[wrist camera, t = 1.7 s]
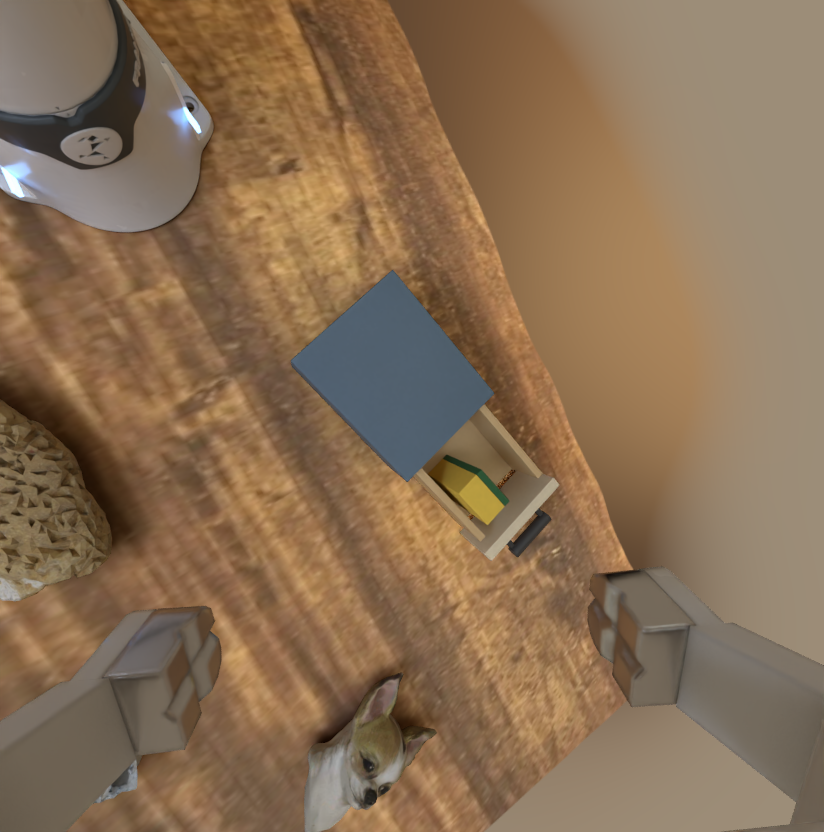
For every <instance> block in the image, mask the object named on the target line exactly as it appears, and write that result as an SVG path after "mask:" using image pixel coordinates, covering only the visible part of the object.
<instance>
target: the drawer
mask: <svg viewBox="0 0 824 832" xmlns="http://www.w3.org/2000/svg"><path fill="white" fill-rule="evenodd" d="M446 455H449V456H451V457H454V458H456V459H458V460H461V461H463V462H465V463H468V464H470V465H472V466H475V467H477V468H479V469H482V470H483V472H484V473H485V474H486V475H487V476H488V477H489V478H490V479H491V481H492V482H493V483H494V484H495V485H497V484H498V483H499V482H500V481H501V480H502V479H503V478H504V477H505V476H506V474H507V473H508V472H509V471H510V470H511V469H513V470H516V472H515V473H514V474H513V475H512V476H511V477H510V478H509V479H508V481H507V482H506V483H505V484H504V485H503V486H502V487H501V488H500V489H499V490H500V491H501V492H502V493H503V494H504V495H505V496H506V497H507V499H508V500H509V502H508V504H507V505H506V506H505V507H504V508H503V509H502V510H501V511H500V512H499V513H498V514H497V516H496V517H495V518H494V519H493V520H492V521H491V522H490V523H489V524H488V525H486V524H485V523H484V522H482V521H481V520H479V519H478V518H477V517H475V516H474V517H473V518H472V519H471V520H470V519H469V518H468V517H467V516H468V515H469V514H470V513H469V512H468V511H467V510H465V509H464V508H462V507H461V506H460V505H458V504H457V503H455V502H454V501H453V500H451V499H450V497H449V496H448V495H447V494H446V493H445V492H444V491H443V490H442V489H441V488H440V487H439V486H438V485H437V484H436V483H435V482H434V480H433V479H432V478H431V477H430V476H429V475H428V473H429V472H430V471H431V470H432V469H433V468H434V467H435V466H436V465H437V464H438V463H439V462H440V461H441V460H442V459H443V458H444V457H445V456H446ZM413 477H414V478H415V479H416V480H417V481H418V482H419V483H420V484H421V485H422V486H423V487H424V488H425V489H426V490H427V491H428V492H429V493H430V495H431V496H432V497H433V498H434V499H435V500H436V501H437V502H438V503H439V504H440V505H441V506H442V507H443V508H444V509H445V510H446V511H447V512H448V513H449V514H450V515H451V517H452V518H453V519H454V520H455V521H456V522H457V523H458V524H460V525H461V526H462V527H463V529H462V530H461V531H460V533H461V534H462V535H463V536H464V538H465V539H467V540H468V541H469V542H470V543H471V544H472V545H473V546H475V547H476V548H477V549H478V550H479V551H480V552H481V553H483V554H484V555H485V556H486V557H487V558H488V559H489V560H491V561H492V560H493V559H494V558H495V556H496V555H497V554H498V553H499V552H500V551H501V550H502V549H503V547H504V546H505V545H506V544H507V545H508V546H509V550H510V551H511V552H512V553H513V554H514V555H515V556H516V557H519V556H520V555H521V553H522V552H523V551H524V550H525V549H526V548H527V547H528V545H529V544H530V543H531V542H532V541H533V540H534V539H535V538H536V536H537V535H538V534H539V533H540V532H541V531H542V530H543V529H544V527H545V526H546V525H547V524H548V523H549V522H550V521H551V518H550V516H549V515H547V514H546V513H545V512H543V511H541V510H540V509H539V507H540V506H541V505H542V504H543V503H544V502H545V501H546V500H547V498H548V497H549V496H550V495H551V494H552V493H553V492H554V491H555V490H556V488H557V487H558V486H559V484H558V482H557V481H556V480H555V479H554V478H553V477H550V476H547V475H544V474H543V473H542V472H541V471H540V470H539V469H538V467H537V466H536V465H535V464H534V463H533V461H532V460H531V459H530V458H529V457H528V455H527V454H526V453H525V452H524V451H523V449H522V448H521V447H520V446H519V445H518V444H517V442H516V441H515V440H514V439H513V438H512V436H511V435H510V434H509V433H508V432H507V430H506V429H505V428H504V427H503V426H502V424H501V423H500V422H499V421H498V420H497V418H496V417H495V416H494V415H493V414H492V413H491V411H490V410H489V409H488V408H487V407H486V405H485V404H484V405H483V406H482V407H481V408H480V409H479V410H478V411H477V412H476V413H475V414H474V415H473V416H472V417H471V418H470V419H469V420H468V421H467V422H466V423H465V424H464V425H463V426H462V427H461V428H460V429H459V430H458V431H457V432H456V433H455V434H454V435H453V436H452V437H451V438H450V439H449V440H448V441H447V442H446V443H445V444H444V445H443V446H442V447H441V448H440V449H439V450H438V451H437V452H436V453H435V455H434V456H433V457H432V458H431V459H430V460H429V461H428V462H427V463H426V464H425V465H424V466H423V467H422V468H421V469H420V470H419V471H418V472H417V473H416V474H415V475H414V476H413ZM534 513H536V514H537V515H538V516H537V517H536V518H535V519H534V520H533V521H532V523H531V524H530V525H529V526H528V527H527V528H526V529H525V530H524V532H523V533H522V534H521V535H520V536H519V537H518V538H517V539H516V540H515V542H514V543H513V542H512V541H511V539H512V537H513V536H514V535H515V534H516V533H517V532H518V531H519V530H520V529H521V527H522V526H523V525H524V524H525V523H526V522H527V521H528V520H529V519H530V517H531V516H532V515H533V514H534Z"/></svg>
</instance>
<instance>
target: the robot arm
mask: <svg viewBox="0 0 824 832" xmlns="http://www.w3.org/2000/svg"><path fill="white" fill-rule="evenodd" d="M188 107H191V108H194V110H193V111H192V112H189V111H188ZM213 130H214V123H213V120H212V118H211V116H210V114H209V112H208V111H207V109H206V108H205V107H204V106H203V104H202V103H201V102H200V100H199V99H198V98H197V96H196V95H195V94H194V93H193V91H192V90H191V89H190V87H189V86H188V85H187V83H186V82H185V81H184V80H183V78H182V77H181V76H180V74H179V73H178V72H177V70H176V69H175V68H174V66H173V65H172V64H171V63H170V61H169V60H168V59H167V57H166V56H165V55H164V53H163V52H162V51H161V50H160V48H159V47H158V46H157V44H156V43H155V42H154V40H153V39H152V38H151V37H150V35H149V34H148V33H147V31H146V30H145V29H144V27H143V26H142V25H141V24H140V22H139V21H138V20H137V18H136V17H135V16H134V14H133V13H132V12H131V11H130V9H129V8H128V7H127V5H126V4H125V3H124V1H123V0H0V188H1V189H2V190H3V191H5V192H6V193H7V194H8V195H9V196H11V197H13V198H16V199H18V200H22V201H26V202H31V203H36V204H42V205H47V206H50V207H52V208H54V209H56V210H58V211H60V212H62V213H64V214H65V215H67V216H69V217H71V218H73V219H75V220H77V221H79V222H81V223H83V224H86V225H88V226H91V227H94V228H98V229H102V230H107V231H113V232H138V231H144V230H148V229H152V228H155V227H158V226H160V225H162V224H164V223H166V222H168V221H170V220H171V219H173V218H174V217H175V216H177V215H178V214H179V213H180V212H181V211H182V210H183V209H184V208H185V207H186V205H187V204H188V203H189V201H190V200H191V198H192V196H193V194H194V192H195V190H196V187H197V184H198V180H199V174H200V161H201V154H202V151H203V149H204V147H205V146H206V144H207V143H208V141H209V139H210V137H211V135H212V133H213ZM589 590H590V591H591V593H592V594H593V596H594V597H595V599H594V600H593V601H592V603H591V604H590V605H589V606H588V618H587V620H588V625H589V630H590V635H591V637H592V640H593V642H594V645H595V646H596V648H597V650H598V652H599V653H600V655H601V656H602V657H604V658H605V659H607V660H608V661H610V662H611V663H613V672H612V675H613V677H614V679H615V680H616V682H617V684H618V685H619V687H620V689H621V690H622V692H623V694H624V695H625V697H626V699H627V700H628V702H629V704H630V706H631V707H641V706H656V705H670V704H671V705H672V704H677V705H676V707H677V708H678V709H680V710H681V711H682V712H683V713H685V714H686V715H687V716H689V717H690V718H691V719H692V720H693V721H695V722H696V723H697V724H699V725H700V726H701V727H702V728H703V729H705V730H706V731H707V732H709V733H710V734H711V735H712V736H714V737H715V738H716V739H717V740H719V741H720V742H721V743H722V744H724V745H725V746H726V747H727V748H729V749H730V750H731V751H733V752H734V753H735V754H736V755H738V756H739V757H740V758H741V759H743V760H744V761H745V762H746V763H747V764H749V765H750V766H751V767H752V768H754V769H755V770H756V771H757V772H759V773H760V774H761V775H763V776H764V777H765V778H766V779H768V780H769V781H770V782H771V783H773V784H774V785H775V786H776V787H778V788H779V789H780V790H781V791H783V792H784V793H785V794H786V795H788V796H789V797H790V798H791V799H793V800H794V801H795V802H796V806H795V809H794V812H793V815H792V819H791V822H790V824H789V825H780V826H771V827H761V828H752V829H743V830H733V831H724V832H824V665H822V664H820V663H818V662H816V661H814V660H811V659H809V658H807V657H805V656H802V655H801V654H799V653H797V652H794V651H792V650H790V649H788V648H786V647H784V646H782V645H779V644H777V643H775V642H773V641H771V640H769V639H767V638H764V637H762V636H760V635H758V634H756V633H754V632H752V631H750V630H747V629H745V628H743V627H741V626H739V625H737V624H735V623H724V622H723V621H722V620H721V619H720V618H719V617H718V616H717V615H716V614H715V613H714V612H713V611H711V609H710V608H709V607H708V606H707V605H706V604H705V603H703V602H702V601H701V600H700V599H699V598H698V597H697V596H696V595H695V594H694V593H693V592H692V591H691V590H690V589H689V588H688V587H687V586H686V585H685V584H684V583H683V582H682V581H681V580H680V579H678V578H677V577H676V576H675V575H674V574H673V573H672V572H671V571H670V570H669V569H667V568H665V567H653V568H644V569H639V570H629V571H618V572H607V573H595V574H593V575H592V577H591V579H590V588H589ZM214 622H215V620H214V617H213V613H212V610H211V608H209V607H207V606H197V607H180V608H163V609H158V610H157V609H153V610H137V611H133V612H131V613H129V614H127V615H126V616H125V617H124V618H123V619H122V620H121V622H120V623H119V624H118V625H117V626H116V627H115V629H114V630H113V631H112V632H111V633H110V634H109V636H108V637H107V638H106V639H105V640H104V642H103V643H102V644H101V645H100V646H99V647H98V649H97V650H96V651H95V652H94V653H93V655H92V656H91V657H90V658H89V659H88V660H87V662H86V663H85V664H84V665H83V666H82V667H81V669H80V670H79V671H78V672H77V673H76V675H75V676H74V677H73V678H72V679H71V680H70V681H68V682H61V683H59V684H57V685H56V686H54V687H53V688H51V689H50V690H48V691H46V692H45V693H43V694H42V695H40V696H39V697H37V698H35V699H34V700H32V701H31V702H29V703H28V704H26V705H25V706H23V707H21V708H20V709H18V710H17V711H15V712H14V713H12V714H10V715H9V716H7V717H6V718H4V719H3V720H1V721H0V832H66V831H67V830H68V829H69V828H70V827H71V826H72V825H73V824H74V822H75V821H76V820H77V819H78V818H79V817H80V816H81V815H82V814H83V813H84V812H85V811H86V810H87V809H88V808H89V807H90V806H91V805H92V804H93V803H94V802H95V801H96V800H97V799H98V798H99V797H100V796H101V795H102V794H103V793H104V792H105V791H106V790H107V789H108V787H109V786H110V785H111V784H112V783H113V782H114V781H115V780H116V779H117V778H118V777H119V776H120V775H121V774H122V773H123V772H124V771H125V770H126V769H127V768H128V767H129V766H130V765H131V764H132V763H133V762H134V761H135V760H136V756H137V755H145V754H153V753H161V752H169V751H177V750H185V748H186V746H187V744H188V741H189V739H190V737H191V735H192V733H193V731H194V729H195V726H196V724H197V722H198V720H199V718H200V716H201V713H202V712H201V708H200V704H199V702H200V701H201V700H202V699H203V698H204V697H205V696H206V695H208V694H209V693H210V692H211V691H212V689H213V687H214V685H215V682H216V680H217V678H218V675H219V670H220V665H221V645H220V641H219V638H218V637H217V636H215V635H214V634H213V633H212V632H211V631H210V630H211V628H212V626H213V624H214Z"/></svg>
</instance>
